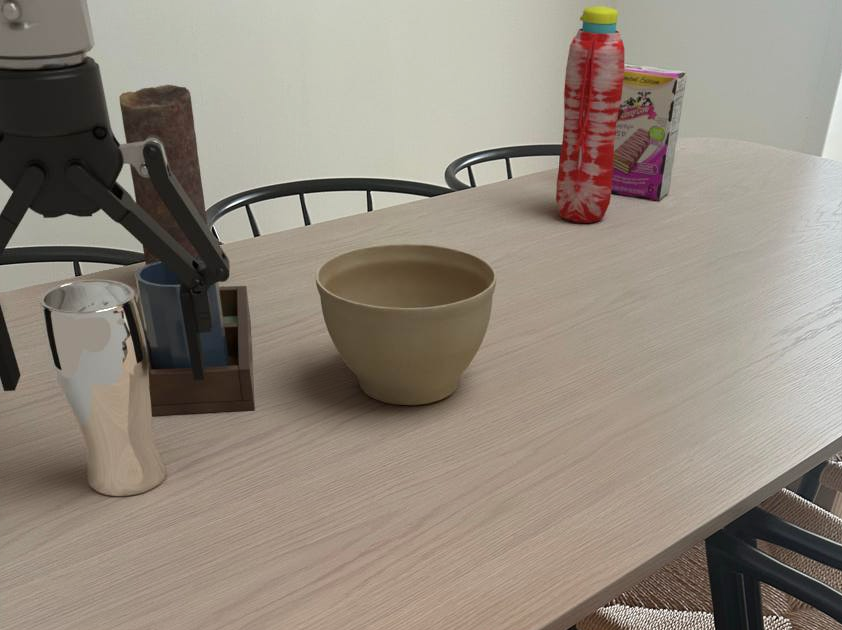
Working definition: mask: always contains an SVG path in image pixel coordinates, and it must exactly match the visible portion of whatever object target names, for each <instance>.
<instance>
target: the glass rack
mask: <svg viewBox="0 0 842 630" xmlns="http://www.w3.org/2000/svg"><path fill="white" fill-rule="evenodd" d="M219 292H220V299H221V307H222V314H223V321H224V328H225V336H226V343H227V350H228V358H229V365H230V366H215V367H205V369H204V379H201V380H194V378H193V372H192V368H176V369H156V370H153V368H152V362H151V357H150V362H151V378H152V417H158V416H174V415H191V414H209V413H224V412H227V413H228V412H244V411H255V410H256V407H255V405H256V404H255V403H256V402H255V383H254V362H253V361H254V360H253V359H254V358H253V342H252V341H253V340H252V322H251V313H250V305H249V304H250V303H249V297H248V287H247V285H237V286H236V285H231V286H230V285H229V286H219ZM136 302H137V305H138V309H139V312H140V315H141V319H142V323H143V327H144V330H145V326H144V320H143V315H142V310H141V305H140V299H139V294H138V295H137V300H136ZM145 335H146V331H145ZM146 339H147V336H146ZM147 344H148V341H147ZM148 349H149V347H148ZM149 356H150V352H149Z"/></svg>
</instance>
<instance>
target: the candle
mask: <svg viewBox="0 0 842 630" xmlns="http://www.w3.org/2000/svg"><path fill="white" fill-rule="evenodd" d="M119 105H120V106H119V107H120V112H121V119H122V126H123V132H124V138H125V144H127V143H134V142H141V141H145V140H146V138H147V137H148V136H150V135H156V136H158V137H159V138H160V139H161V140H162V142H163V144H164V148H165V152H166V155H167V159H168V163H169V166H170V170H171V171H172V173H173V174H174V176H175V177H176V179H177V180H178V182H179V183H180V185H181V187H182V188H183V190H184V191H185V193H186V194H187V196H188V197H189V199H190V200H191V202H192V203H193V205H194V207H195V208H196V210H197V211H198V213H199V214H200V216H201V217H202V219H203V220H204V222H205V223H206V225H207V227H208V228H209V226H208V219H207V218H208V217H207V212H206V204H205V196H204V189H203V182H202V175H201V166H200V159H199V154H198V153H199V152H198V142H197V134H196V130H195V119H194V118H195V117H194V112H193V104H192V96H191V91H190V90H189V89H188V88H186V87H185V86H178V85H173V84H165V85H159V86H155V87H143V88H141V89H138V90H136V91H126V92H122V93H121V94H120V95H119ZM129 168H130V174H131V180H132V185H133V191H134V199H135V202H136V203H137V204H138V205H139V206H140V207H141V208H142V209H143V210H144V211H145V212H146V213H147V214H148V215H149V216H150V217H151V218H152V219H154V220H155V221H156V222H157V223H158V224H159V225H160V226H161V227H162V228H163V229H164V230H165V231H166V232H167V233H168V234H169V235H170V236H171V237H172V238H173V239H175V240H176V241H177V242H178V243H179V244H180V245H181V246H182V247H183V248H184V249H185V250H186V251H187V252H188V253H189V254H190V255H191V256H192V257H193V258H194V259H195V260H198V261H202V259H201V258H200V256H199V255H198V253H197V252H196V250H195V249H194V247H193V246H192V244H191V243H190V241H189V240H188V238H187V237H186V235H185V234H184V232H183V231H182V229H181V228H180V226H179V225H178V223H177V222H176V220H175V219H174V217H173V216H172V214H171V213H170V211H169V210H168V208H167V207H166V205H165V204H164V202H163V201H162V199H161V198H160V196H159V195H158V193H157V192H156V190H155V188H154V186H153V184H152V182H151V179H150V178H144V177H142V176H140V175H139V174H138V172H137V170H136V169H135V167H134V166H132V165H131V164H129ZM142 250H143V258H144V263H145V265H147V264H150V263H154V262H158V261H160V260H159V259H158V258H156V257H155V256H154V255H153V254H152V253H151V252H150V251H149V250H148V249H147V248H146V247H145V246H144V245H142Z"/></svg>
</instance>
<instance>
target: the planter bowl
mask: <svg viewBox="0 0 842 630" xmlns="http://www.w3.org/2000/svg"><path fill="white" fill-rule="evenodd" d="M314 277H315V285H316V289H317V291H318V294H319V297H320V298H319V299H320V305H321V311H322V315H323V320H324V322H325V326H326V329H327V332H328V335H329V337H330V339H331V341H332V343H333V345H334V347H335V349H336V350H337V352H338V354H339V355H340V357H341V358H342V360H343V361H344V363H345V364H346V366H348V368H349V369H350V370H351V371H352V373H354V374H355V375H356V376H357V378H358V382H359V383H358V384H359V386H360V388H361V391H363V392H364V393H365V394H366V395H367V396H368V397H370V398H372V399H375V400H376V401H379V402H382V403H386V404H390V405H397V406H419V405H420V406H421V405H428V404H431V403H435V402H439V401H442V400H443V399H445V398H448V397H449V396H451V395H452V394H453V393H454V392H455V391H456V390H457V389H458V388H459V383H460V379H461V376H462V375H463V373H464V372H465V371H466V370H467V368H468V367H469V366H470V364H471V363H472V362H473V360H474V359H475V357H476V355H477V353H478V352H479V350H480V347H481V345H482V343H483V341H484V338H485V336H486V334H487V331H488V327H489V323H490V319H491V316H492V315H491V314H492V313H491V312H492V308H493V298H494V297H493V295H494V293H495V289H496V286H497V273H496V269H494V267H493V265H491V264H490V263H489V262H488V261H487V260H485V259H484V258H482V257H480V256H478V255H477V254H474V253H472V252H469V251H466V250H462V249H459V248H455V247H450V246H444V245H441V244H440V245H439V244H433V243H432V244H431V243H417V242H415V243H414V242H397V243H386V244H385V243H384V244H374V245H367V246H360V247H355V248H352V249H349V250H345V251H342V252H340V253H337V254H335V255H332V256H331V257H329V258H327V259H326V260H325V261H323V262H322V263H321V264H320V265H319V266H318V267H317V269H316V272H315V275H314Z"/></svg>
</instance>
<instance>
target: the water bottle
mask: <svg viewBox="0 0 842 630" xmlns="http://www.w3.org/2000/svg"><path fill="white" fill-rule="evenodd" d="M618 15H619V11H618V10H617V9H615V8H613V7H609V6H604V5H595V6H589V7H585V8H584V9H583V11H582V15H581V16H580V17H579V21H582V27H581V28H578V30H577V33H576V35H575V36H574V37H573V38H572V41H571V43H570V45H569V49H568V50H569V51H568V55H567V61H566V66H565V76H564V90H563V132H562V142H561V149H560V157H559V163H558V170H557V178H556V192H555V196H556V197H555V201H556V205H557V211H558V213H559V215H560V217H561V218H563V219H565V220H566V221H569V222H572V223H576V224H577V223H578V224H591V223H595V222H599V221H600V220H602V219H603V218H604V216H605V215H606V213H607V210H608V208H609V206H610V203H611V197H612V193H611V189H612V179H613V158H614V140H615V132H616V123H617V121H618V120H619V118H620V117H621V116H622V114H623V113H624V112H623V111H622V110H621V108H620V102H621V97H622V88H623V79H624V63H625V51H626V50H625V46H624V45H625V44H624V42H623V39H622V38H621V34H620V31H618V30H616V29H617V23H618Z"/></svg>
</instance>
